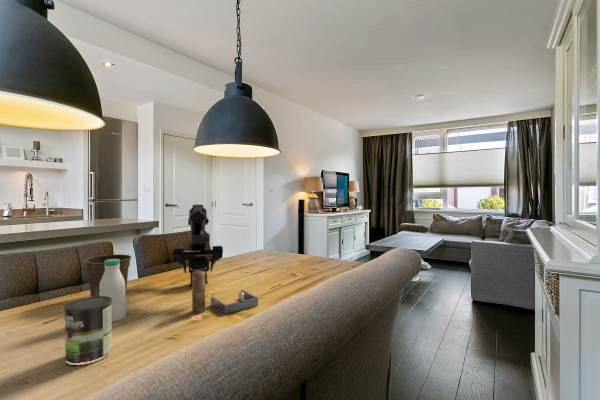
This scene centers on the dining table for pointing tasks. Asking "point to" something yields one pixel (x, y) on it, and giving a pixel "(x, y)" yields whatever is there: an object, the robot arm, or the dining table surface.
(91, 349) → the coffee can
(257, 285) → the dining table surface
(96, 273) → the plant pot
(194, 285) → the peg
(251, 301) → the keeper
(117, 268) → the milk bottle
